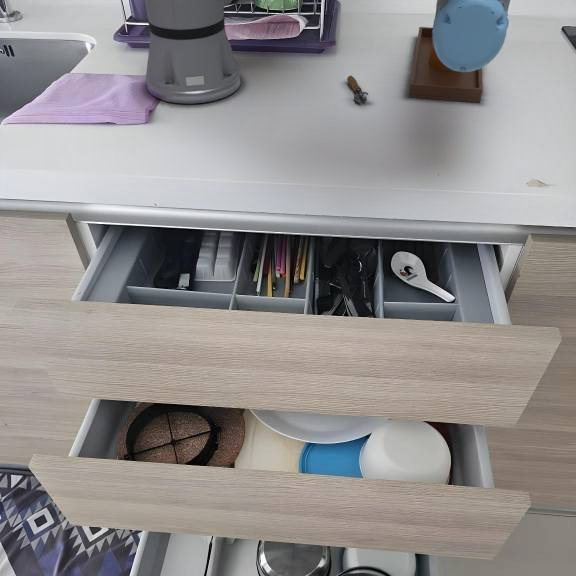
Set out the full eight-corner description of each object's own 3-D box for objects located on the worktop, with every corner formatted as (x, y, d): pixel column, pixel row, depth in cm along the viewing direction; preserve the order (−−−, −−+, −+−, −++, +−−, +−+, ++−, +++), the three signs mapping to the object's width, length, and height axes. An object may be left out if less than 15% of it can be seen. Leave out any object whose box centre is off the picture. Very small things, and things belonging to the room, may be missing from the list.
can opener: (346, 82, 96) (347, 75, 96) (360, 81, 97) (361, 74, 96) (356, 105, 91) (356, 98, 90) (370, 105, 91) (371, 97, 90)
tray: (417, 38, 110) (419, 26, 109) (477, 42, 109) (480, 30, 107) (408, 97, 93) (409, 84, 91) (479, 102, 91) (482, 89, 90)
